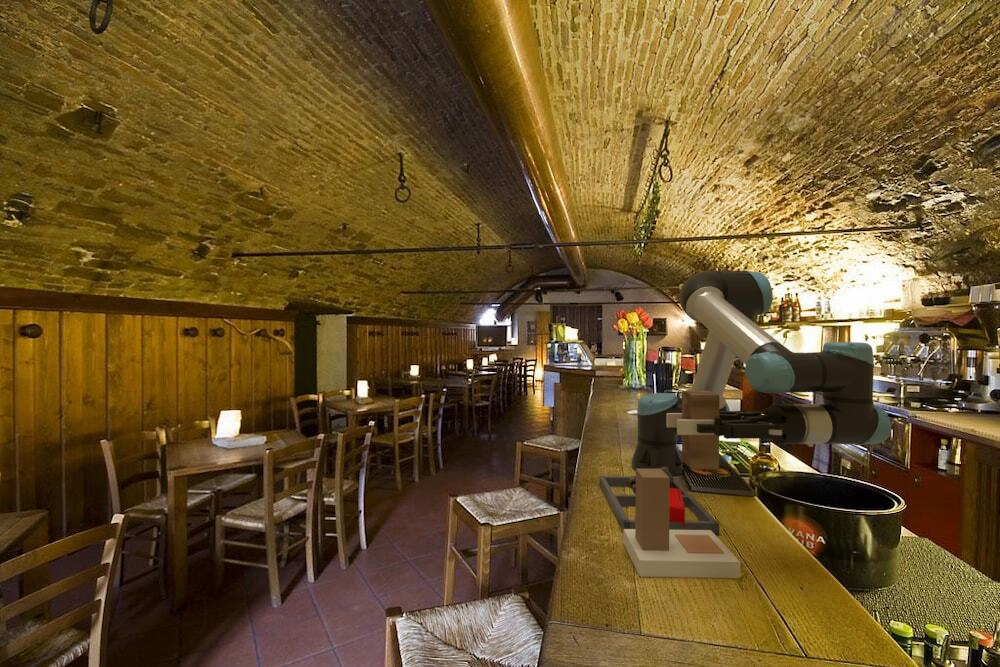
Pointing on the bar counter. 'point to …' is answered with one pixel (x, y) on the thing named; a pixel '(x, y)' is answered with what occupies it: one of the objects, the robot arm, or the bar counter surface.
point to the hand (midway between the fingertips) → (672, 423)
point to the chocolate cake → (633, 480)
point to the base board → (671, 538)
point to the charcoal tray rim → (630, 500)
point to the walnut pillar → (700, 447)
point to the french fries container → (676, 506)
